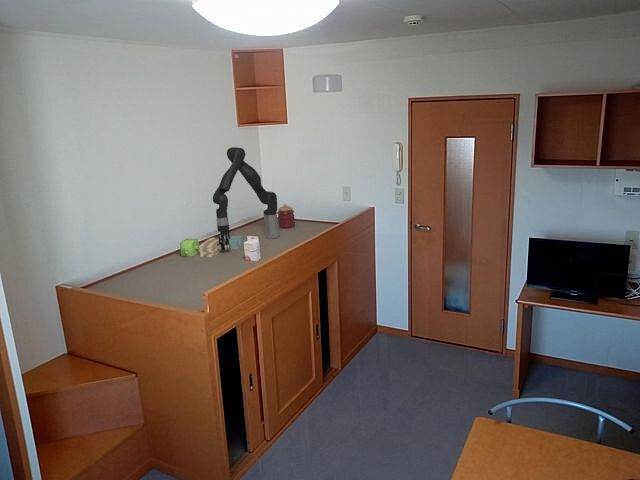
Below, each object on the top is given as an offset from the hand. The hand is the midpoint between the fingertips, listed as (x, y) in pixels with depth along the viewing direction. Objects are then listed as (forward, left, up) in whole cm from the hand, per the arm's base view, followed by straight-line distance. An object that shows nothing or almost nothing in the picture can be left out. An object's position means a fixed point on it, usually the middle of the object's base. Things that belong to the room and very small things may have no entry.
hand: (225, 247), depth 354 cm
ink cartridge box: (-24, +18, -3) cm, 30 cm away
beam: (+9, 0, -3) cm, 10 cm away
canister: (-25, -68, -3) cm, 73 cm away
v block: (-1, -14, -3) cm, 15 cm away
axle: (+6, 0, -1) cm, 6 cm away
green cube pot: (+23, +4, -3) cm, 24 cm away
